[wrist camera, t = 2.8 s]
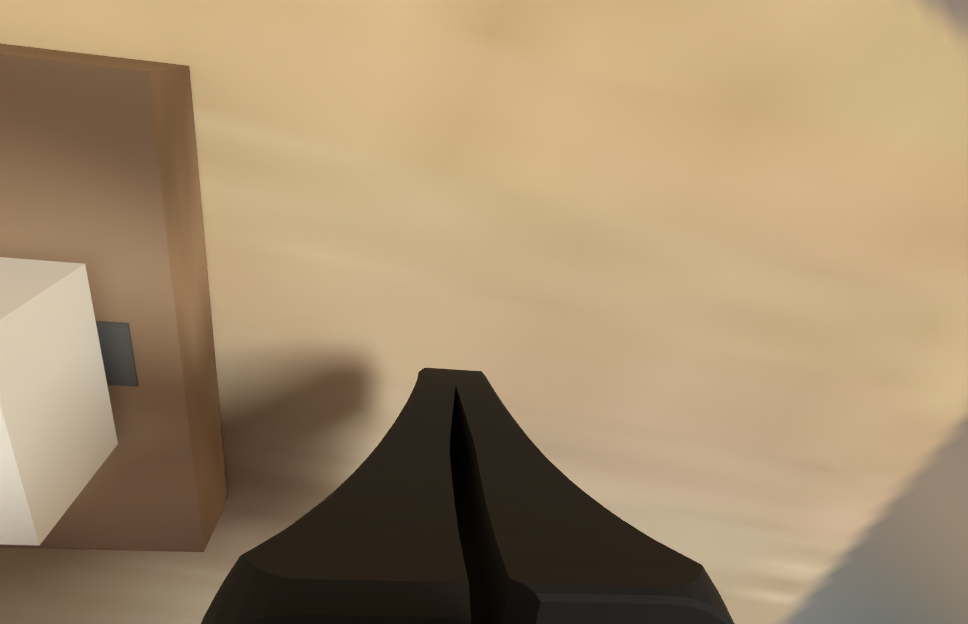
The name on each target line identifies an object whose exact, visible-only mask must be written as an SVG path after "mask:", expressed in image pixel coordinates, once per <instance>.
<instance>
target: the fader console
mask: <svg viewBox="0 0 968 624" xmlns="http://www.w3.org/2000/svg"><path fill="white" fill-rule="evenodd" d="M0 257H6V258H19V259H31V260H44V261H57V262H70V263H82V264H85V266H86V271H87V277H88V282H89V288H90V293H91V299H92V304H93V310H94V315H95V321H96V326H97V332H98V337H99V343H100V348H101V354H102V359H103V364H104V370H105V375H106V381H107V386H108V392H109V397H110V403H111V408H112V414H113V419H114V425H115V430H116V436H117V441H118V445H117V446H116V447H115V448H114V450H113V451H112V452H111V454H110V455H109V456H108V457H107V459H106V460H105V461H104V463H103V464H102V465H101V467H100V468H99V469H98V470H97V472H96V473H95V474H94V476H93V477H92V478H91V479H90V481H89V482H88V483H87V485H86V486H85V487H84V489H83V490H82V491H81V492H80V494H79V495H78V496H77V498H76V499H75V500H74V501H73V503H72V504H71V505H70V507H69V508H68V509H67V510H66V512H65V513H64V514H63V516H62V517H61V518H60V520H59V521H58V522H57V523H56V525H55V526H54V527H53V529H52V530H51V531H50V532H49V534H48V535H47V536H46V538H45V539H44V540H43V542H42V543H41V544H40V545H1V544H0V547H23V548H64V549H104V550H144V551H184V552H204V550H205V548H206V546H207V543H208V541H209V539H210V537H211V534H212V532H213V530H214V528H215V525H216V523H217V521H218V519H219V516H220V514H221V512H222V510H223V508H224V505H225V503H226V501H227V499H228V497H227V486H226V475H225V464H224V452H223V441H222V430H221V419H220V408H219V396H218V385H217V374H216V363H215V351H214V340H213V329H212V318H211V306H210V295H209V284H208V273H207V261H206V250H205V239H204V228H203V216H202V205H201V194H200V183H199V171H198V160H197V149H196V138H195V126H194V115H193V104H192V93H191V82H190V70H189V66H185V65H176V64H168V63H159V62H151V61H142V60H134V59H125V58H117V57H108V56H100V55H91V54H83V53H74V52H66V51H57V50H49V49H40V48H32V47H23V46H15V45H6V44H0Z"/></svg>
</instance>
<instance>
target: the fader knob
mask: <svg viewBox="0 0 968 624" xmlns="http://www.w3.org/2000/svg"><path fill="white" fill-rule="evenodd" d="M117 445H118V441H117V436H116V430H115V425H114V419H113V414H112V408H111V403H110V397H109V392H108V386H107V381H106V375H105V370H104V364H103V359H102V354H101V348H100V343H99V337H98V332H97V326H96V321H95V315H94V310H93V304H92V299H91V293H90V288H89V282H88V277H87V271H86V266H85V264H82V263H70V262H57V261H44V260H31V259H19V258H6V257H0V544H1V545H40V544H41V543H42V542H43V540H44V539H45V538H46V536H47V535H48V534H49V532H50V531H51V530H52V529H53V527H54V526H55V525H56V523H57V522H58V521H59V520H60V518H61V517H62V516H63V514H64V513H65V512H66V510H67V509H68V508H69V507H70V505H71V504H72V503H73V501H74V500H75V499H76V498H77V496H78V495H79V494H80V492H81V491H82V490H83V489H84V487H85V486H86V485H87V483H88V482H89V481H90V479H91V478H92V477H93V476H94V474H95V473H96V472H97V470H98V469H99V468H100V467H101V465H102V464H103V463H104V461H105V460H106V459H107V457H108V456H109V455H110V454H111V452H112V451H113V450H114V448H115V447H116V446H117Z"/></svg>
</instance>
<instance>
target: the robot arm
mask: <svg viewBox="0 0 968 624" xmlns="http://www.w3.org/2000/svg"><path fill="white" fill-rule="evenodd" d="M201 624H734V622H733V620H732V618H731V616H730V614H729V612H728V610H727V608H726V606H725V604H724V602H723V600H722V598H721V596H720V594H719V592H718V590H717V589H716V587H715V586H714V584H713V582H712V581H711V579H710V578H709V576H708V574H707V573H706V571H705V569H704V567H703V566H702V565H701V564H699V563H697V562H695V561H693V560H691V559H689V558H688V557H686V556H684V555H682V554H680V553H678V552H676V551H674V550H673V549H671V548H669V547H667V546H665V545H663V544H661V543H659V542H657V541H656V540H654V539H652V538H650V537H649V536H647V535H645V534H644V533H642V532H641V531H639V530H637V529H636V528H634V527H633V526H631V525H630V524H628V523H626V522H625V521H623V520H622V519H620V518H619V517H617V516H616V515H614V514H613V513H612V512H610V511H609V510H607V509H606V508H604V507H603V506H602V505H601V504H599V503H598V502H597V501H595V500H594V499H593V498H591V497H590V496H589V495H588V494H586V493H585V492H584V491H582V490H581V489H580V488H579V487H578V486H576V485H575V484H574V483H573V482H572V481H570V480H569V479H568V478H567V477H566V476H565V475H564V474H563V473H562V472H561V471H560V470H559V469H558V468H556V467H555V466H554V465H553V464H552V463H551V462H550V461H549V460H548V459H547V458H546V457H545V456H544V455H543V454H542V453H541V451H540V450H539V449H538V448H537V447H536V446H535V445H534V443H533V442H532V441H531V440H530V439H529V438H528V436H527V435H526V434H525V433H524V431H523V430H522V429H521V428H520V426H519V425H518V424H517V422H516V421H515V420H514V418H513V417H512V416H511V414H510V413H509V412H508V410H507V409H506V407H505V406H504V404H503V403H502V402H501V400H500V399H499V397H498V396H497V394H496V392H495V391H494V389H493V388H492V386H491V384H490V383H489V381H488V380H487V378H486V376H485V375H484V374H483V373H482V371H467V370H451V369H435V368H424V369H422V370H421V371H420V372H419V374H418V379H417V382H416V384H415V387H414V389H413V391H412V393H411V395H410V397H409V399H408V401H407V403H406V405H405V406H404V408H403V410H402V411H401V413H400V415H399V416H398V418H397V419H396V421H395V423H394V424H393V425H392V427H391V428H390V429H389V431H388V432H387V434H386V435H385V436H384V438H383V439H382V441H381V442H380V443H379V445H378V446H377V447H376V448H375V449H374V451H373V452H372V453H371V454H370V455H369V457H368V458H367V459H366V460H365V461H364V462H363V463H362V464H361V465H360V466H359V468H358V469H357V470H356V471H355V472H354V473H353V474H352V475H351V476H350V477H349V478H348V479H347V480H346V481H344V482H343V483H342V484H341V485H340V486H339V487H338V488H337V489H336V490H335V491H334V492H333V493H332V494H330V495H329V496H328V497H327V498H326V499H325V500H323V501H322V502H321V503H320V504H318V505H317V506H316V507H314V508H313V509H312V510H310V511H309V512H308V513H307V514H305V515H304V516H303V517H301V518H300V519H299V520H297V521H296V522H295V523H294V524H292V525H291V526H289V527H288V528H286V529H285V530H283V531H282V532H280V533H278V534H277V535H275V536H273V537H272V538H270V539H268V540H267V541H265V542H263V543H262V544H260V545H258V546H257V547H255V548H253V549H252V550H250V551H248V552H246V553H244V554H243V555H241V556H240V557H239V559H238V560H237V562H236V563H235V565H234V566H233V568H232V569H231V571H230V572H229V574H228V576H227V577H226V579H225V580H224V582H223V584H222V585H221V587H220V589H219V590H218V592H217V594H216V596H215V597H214V599H213V601H212V603H211V605H210V607H209V609H208V610H207V612H206V614H205V616H204V618H203V620H202V623H201Z"/></svg>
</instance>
